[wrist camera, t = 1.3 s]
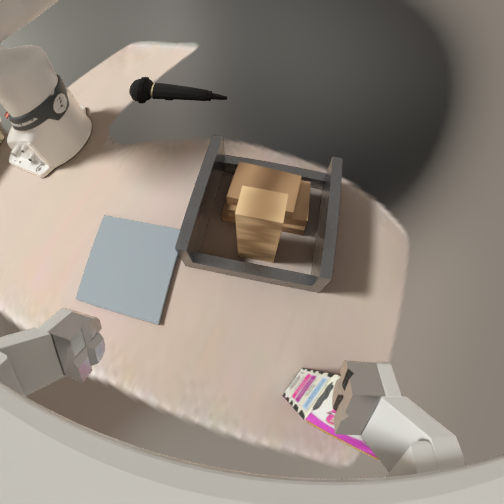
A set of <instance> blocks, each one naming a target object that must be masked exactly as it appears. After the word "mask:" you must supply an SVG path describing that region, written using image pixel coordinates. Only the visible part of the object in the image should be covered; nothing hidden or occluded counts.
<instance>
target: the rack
mask: <svg viewBox="0 0 504 504" xmlns="http://www.w3.org/2000/svg"><path fill="white" fill-rule="evenodd" d="M342 161H343V159H342V158H338V157H334V156H333V157H332V159H331V162H330V165H329V167H328V170H327V172H326V173H321V172H317V171H312V170H307V169H302V168H298V167H293V166H287V165H282V164H277V163H271V162H266V161H260V160H254V159H248V158H242V157H236V156H229V155H225V152H224V142H223V136H217V135H213V136H212V139H211V142H210V144H209V147H208V150H207V153H206V155H205V158H204V161H203V164H202V166H201V169H200V172H199V175H198V178H197V181H196V184H195V187H194V189H193V192H192V195H191V198H190V201H189V204H188V208H187V211H186V214H185V217H184V220H183V223H182V226H181V229H180V233H179V236H178V239H177V242H176V246H175V250H176V251H177V253H178V255H179V256H180V258H181V259H182V261H183V263H184V264H185V266H189V267H193V268H198V269H203V270H207V271H212V272H217V273H222V274H227V275H231V276H236V277H241V278H246V279H251V280H256V281H261V282H266V283H271V284H276V285H281V286H287V287H292V288H297V289H302V290H307V291H313V292H318V293H319V292H320V291H321V290H322V289H323V288H324V287H325V286H326V285H327V284H328V283H329V282H330V281H331V280H332V274H333V265H334V257H335V248H336V239H337V229H338V218H339V206H340V194H341V179H342ZM239 162H244V163H249V164H253V165H258V166H262V167H267V168H271V169H275V170H279V171H283V172H287V173H292V174H296V175H299V176H302V177H301V180H302V181H308V182H310V187H311V188H316V189H321V190H322V194H321V203H320V211H319V219H318V227H317V235H316V243H315V250H314V257H313V264H312V271H311V275H308V274H303V273H298V272H293V271H288V270H283V269H278V268H272V267H267V266H262V265H257V264H252V263H247V262H242V261H237V260H232V259H227V258H222V257H217V256H212V255H208V254H203V253H200V250H201V246H202V242H203V239H204V235H205V232H206V228H207V225H208V221H209V218H210V214H211V211H212V207H213V204H214V201H215V197H216V194H217V191H218V187H219V184H220V181H221V178H222V174H223V171H225V172H231V173H235V172H236V169H237V166H238V164H239Z"/></svg>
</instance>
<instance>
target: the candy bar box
mask: <svg viewBox="0 0 504 504" xmlns="http://www.w3.org/2000/svg"><path fill="white" fill-rule="evenodd" d="M340 377H341V376H339V375H337V374H330V373H325V372H320V371H315V370H310V369H305V368H302V369H301V370H300V372H299V373H298V374H297V376H296V377H295V379H294V380H293V381H292V383H291V384H290V386H289V387H288V388H287V390H286V391H285V392H284V394H283V397H284V398H285V399H286V400H287V401H288V402H289V403H290V404H291V405H292V407H293V408H294V409H295V410H296V411H297V412H298V414H299V415H300V416H301V417H302V418H303V419H304V421H306V422H308V423H309V424H311V425H313V426H314V427H316V428H318V429H320V430H321V431H323V432H325V433H327V434H329V435H330V436H332V437H334V438H336V439H338V440H340V441H342V442H343V443H345V444H347V445H349V446H351V447H353V448H355V449H357V450H359V451H361V452H363V453H365V454H367V455H369V456H371V457H373V458H375V459H377V460H379V459H378V458H377V457H376V456H375V454H374V453H373V452H372V450H371V449H370V448H369V447H368V445H367V444H366V443H365V442H364V440H363V439H362V438H361V435H340V434H335V429H334V416H335V414H336V411H335V410H334V409H333V405H332V396H333V390H334V386H335V383H336V380H338V379H339V378H340Z"/></svg>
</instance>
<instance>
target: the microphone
mask: <svg viewBox="0 0 504 504" xmlns="http://www.w3.org/2000/svg"><path fill="white" fill-rule="evenodd" d="M130 95H131V97H132V99H133V100H135V101H138V102H139V103H145V102H146V101H147V100H149V99H150V98H151V97H152V98H153V99H165V100H173V99H181V100H200V101H206V100H207V101H210V100H211V99H217V100H218V99H219V100H226V99H227V97H226V96H222V95H219V94H214V93H212V91H208V90H204V89H197V88H191V87H185V86H178V85H171V84H163V83H153V82H152V81H151V80H150V79H149V77H142V78H141V79H138V80H135V81H134V82H133V83H132V85H131V86H130Z"/></svg>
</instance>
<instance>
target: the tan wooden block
mask: <svg viewBox="0 0 504 504" xmlns="http://www.w3.org/2000/svg"><path fill="white" fill-rule="evenodd" d="M287 199H288V194H285V193H280V192H275V191H270V190H264V189H259V188H253V187H248V186H242V189H241V192H240V196H239V200H238V204H237V208H236V212H235V221H236V233H237V245H238V256H242V257H247V258H252V259H257V260H262V261H267V262H272V263H273V262H274V258H275V254H276V250H277V246H278V242H279V238H280V234H281V230H282V226H283V222H284V216H285V211H286V205H287Z"/></svg>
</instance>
